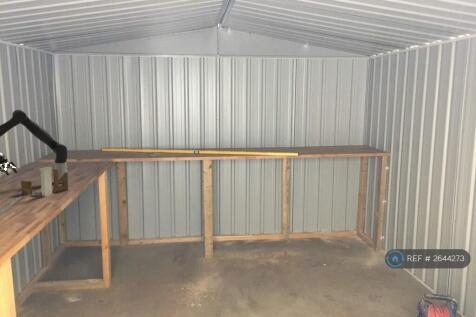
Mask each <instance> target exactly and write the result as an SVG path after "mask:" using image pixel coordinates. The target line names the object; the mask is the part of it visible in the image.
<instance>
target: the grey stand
mask: <svg viewBox="0 0 476 317" xmlns="http://www.w3.org/2000/svg"><path fill="white" fill-rule="evenodd" d="M52 170H53V167H52V166H46V167H45V166H44V167H42V168H39V169H38V171H40V185H41V186H40V189H41V191H34V192H32V194H29V197H38V198H46V197H49V196H51V195H53V194H54V193H53V184H52V183H53V182H52V178H53V177H52Z"/></svg>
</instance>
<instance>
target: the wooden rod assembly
mask: <svg viewBox="0 0 476 317" xmlns="http://www.w3.org/2000/svg"><path fill="white" fill-rule="evenodd" d="M52 178H53V186H52V192H54V193H58V192H65V191H68V190H69V179H68V178H69V175H68V172H67V173H66V172H65V173H64V174H63V176H62V177H61V178H60V179H59V180H58V169H55V168H52ZM60 182H62V183H60ZM60 184H61V185H60Z"/></svg>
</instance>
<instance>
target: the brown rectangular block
mask: <svg viewBox="0 0 476 317" xmlns="http://www.w3.org/2000/svg"><path fill="white" fill-rule="evenodd" d="M20 185H21V186H20V187H21V188H20V190H21V192H20V193H21V195H31V194H33V184H32V180H27V179H23V180H21V181H20Z"/></svg>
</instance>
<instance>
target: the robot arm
mask: <svg viewBox="0 0 476 317" xmlns="http://www.w3.org/2000/svg"><path fill="white" fill-rule="evenodd" d="M11 115H12V116H11V118H10V119H9V120H7V121H6V122H4V123H2V124H0V138H1V137H2V136H3V135H5V134H6V133H8V132H9V131H10V130H11V129H13V128H14V127H16V126H18V125H22V126H24V127H25V129H26V130H28V131H29V132H30V133H31V134H32V135H33V136H34V137H35V138H36V139H38V140H39V141H41V142H42V143H44V144H45V145H46V146H47V147H49V149H51V151H52V152H54V154H55V157H56V158H55V159H54V169H58V180H59V179H60V178H61V177H62V176H63V174H64V173H65V172H66V173H68V169H67V168H68V166H67V164H68V163H67V160H68V147H67V145H65V144H62V143H60V142H58V141H57V140H55V139H54V137H52V136H51V134H50V133H49V132H48V131H47V130H46V129H45V128H44V127H42V126H41V125H40V124H38V123H37V122H35V121H34V120H32V119H31V118H30V117H29V115H27V113H26V112H25V111H24V110H22V109H15V110H13V111H12V114H11ZM17 168H18V167H17V165H16V163H14V162H13V161H10V162H9V160H8V158H7V157H6V156H5V155H4V153H3V152H2V151H0V172H1V173H4V174H5V175H7V176H10V174H11V173H10V172H9V171H8V170H7V169H10V170H12V171H13V172H14V173H15V174H18V173H19V170H18V169H17ZM59 184H62V182H60V183H59Z"/></svg>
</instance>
